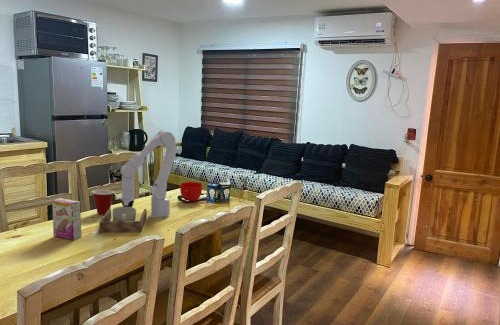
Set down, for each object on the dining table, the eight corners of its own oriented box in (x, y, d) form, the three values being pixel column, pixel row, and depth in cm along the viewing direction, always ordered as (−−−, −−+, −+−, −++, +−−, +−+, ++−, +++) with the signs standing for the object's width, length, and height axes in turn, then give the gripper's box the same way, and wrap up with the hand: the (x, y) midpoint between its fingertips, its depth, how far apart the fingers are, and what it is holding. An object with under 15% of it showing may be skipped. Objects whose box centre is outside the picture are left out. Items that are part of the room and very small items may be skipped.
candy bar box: (52, 236, 169) (50, 200, 166) (61, 233, 174) (60, 197, 171) (73, 241, 166) (71, 203, 163) (82, 237, 170) (80, 200, 167)
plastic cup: (119, 212, 205) (118, 190, 202) (102, 218, 196) (101, 194, 193) (105, 208, 210) (105, 187, 208) (88, 213, 201) (87, 191, 199)
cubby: (146, 218, 197) (146, 209, 196) (141, 232, 179) (141, 221, 178) (108, 218, 195) (108, 209, 194) (99, 232, 176) (99, 222, 175)
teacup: (115, 221, 192) (115, 205, 190) (138, 221, 193) (138, 205, 191) (108, 231, 178) (107, 214, 176) (132, 231, 179) (132, 214, 177)
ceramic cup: (174, 204, 222) (174, 187, 221) (184, 197, 239) (184, 181, 237) (196, 206, 220) (196, 189, 219) (204, 198, 237) (204, 182, 235)
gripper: (122, 185, 201) (122, 210, 204) (116, 192, 187) (117, 219, 189) (136, 185, 202) (136, 210, 205) (132, 192, 188) (132, 219, 191)
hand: (128, 215), depth 197 cm, fingers closed
